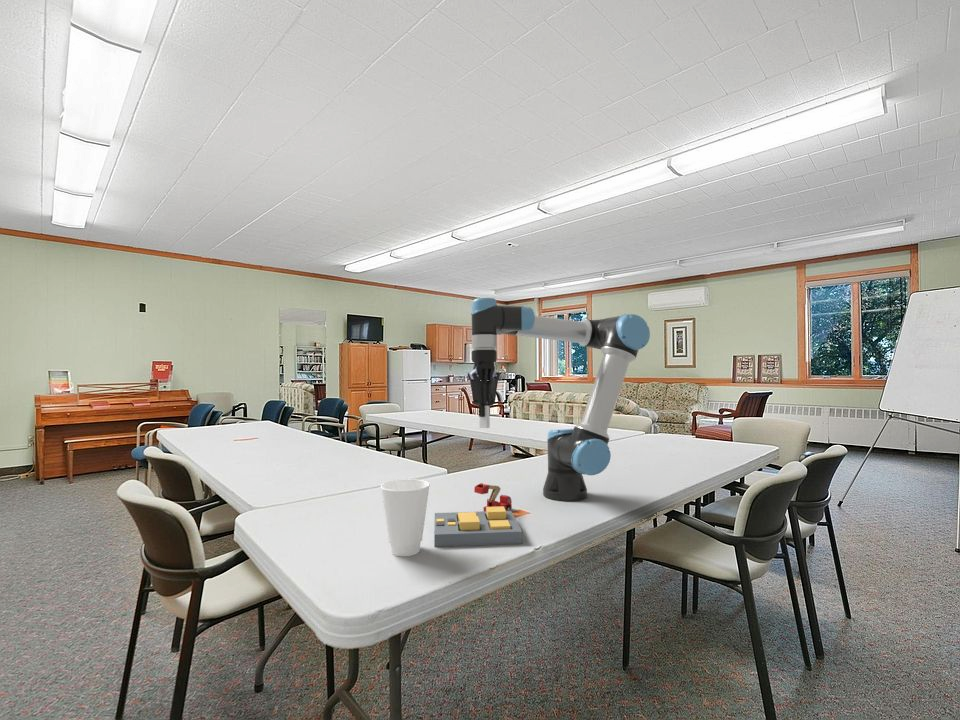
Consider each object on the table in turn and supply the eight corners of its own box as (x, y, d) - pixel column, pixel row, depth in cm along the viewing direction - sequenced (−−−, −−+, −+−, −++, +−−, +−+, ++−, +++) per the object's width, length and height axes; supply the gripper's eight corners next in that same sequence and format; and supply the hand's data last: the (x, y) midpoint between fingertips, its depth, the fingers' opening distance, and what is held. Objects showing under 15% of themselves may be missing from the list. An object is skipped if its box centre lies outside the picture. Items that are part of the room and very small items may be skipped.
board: (511, 521, 139) (511, 509, 139) (522, 543, 121) (522, 530, 121) (434, 523, 137) (434, 511, 137) (434, 546, 119) (434, 533, 119)
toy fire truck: (513, 509, 150) (512, 478, 150) (481, 519, 140) (481, 486, 140) (505, 507, 152) (505, 477, 152) (474, 517, 143) (473, 484, 143)
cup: (386, 564, 108) (386, 492, 109) (375, 546, 119) (375, 481, 120) (436, 555, 113) (436, 487, 113) (421, 539, 124) (421, 477, 124)
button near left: (507, 532, 128) (507, 519, 128) (510, 538, 123) (510, 526, 123) (489, 532, 127) (489, 520, 128) (491, 539, 123) (491, 526, 123)
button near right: (478, 527, 127) (478, 515, 127) (479, 534, 122) (479, 521, 122) (459, 528, 127) (459, 516, 127) (460, 535, 122) (460, 522, 122)
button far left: (503, 517, 136) (503, 506, 136) (506, 523, 131) (506, 511, 131) (486, 518, 135) (486, 506, 136) (488, 523, 130) (488, 512, 131)
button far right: (475, 523, 135) (475, 512, 135) (477, 529, 130) (477, 517, 130) (457, 524, 135) (457, 512, 135) (458, 529, 130) (458, 518, 130)
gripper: (488, 350, 152) (488, 424, 152) (460, 349, 142) (460, 428, 142) (507, 349, 148) (507, 426, 147) (479, 348, 138) (480, 430, 137)
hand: (484, 427), depth 145 cm, fingers closed
